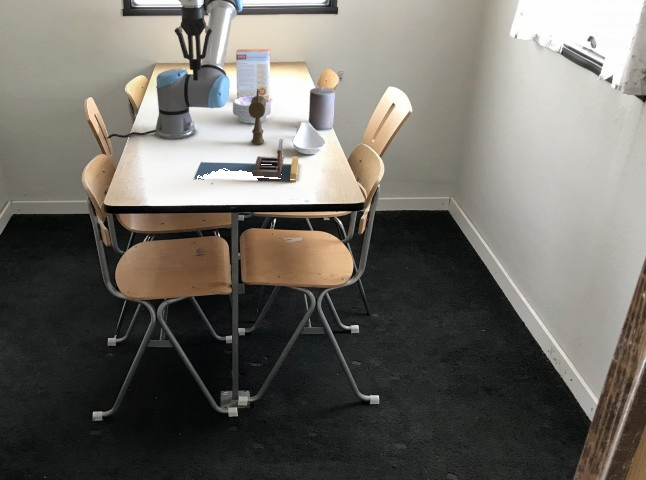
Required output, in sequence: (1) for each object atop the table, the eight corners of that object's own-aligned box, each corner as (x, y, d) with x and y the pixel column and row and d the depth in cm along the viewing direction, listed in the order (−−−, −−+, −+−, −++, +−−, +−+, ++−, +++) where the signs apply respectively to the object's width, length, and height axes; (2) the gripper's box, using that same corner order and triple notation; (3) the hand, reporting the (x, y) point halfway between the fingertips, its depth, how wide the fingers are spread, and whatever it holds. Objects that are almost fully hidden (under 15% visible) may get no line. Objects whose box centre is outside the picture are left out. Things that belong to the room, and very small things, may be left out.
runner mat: (193, 180, 235) (193, 179, 235) (200, 163, 248) (200, 162, 248) (296, 183, 231) (296, 182, 231) (298, 165, 245) (298, 164, 244)
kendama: (248, 147, 260) (248, 92, 249) (250, 139, 268) (250, 84, 257) (265, 148, 260) (265, 92, 248) (266, 139, 268) (266, 85, 256)
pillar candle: (303, 126, 280) (304, 87, 271) (319, 120, 285) (321, 82, 277) (322, 131, 274) (324, 92, 265) (338, 126, 280) (340, 87, 271)
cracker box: (269, 98, 312) (270, 48, 301) (268, 102, 307) (269, 51, 296) (238, 98, 314) (237, 48, 302) (236, 102, 309) (235, 51, 297)
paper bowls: (248, 112, 296) (248, 93, 292) (278, 119, 288) (278, 99, 284) (225, 121, 287) (224, 101, 282) (254, 128, 278) (254, 108, 274)
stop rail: (290, 181, 231) (290, 173, 230) (292, 164, 245) (292, 156, 243) (296, 182, 231) (296, 173, 230) (298, 164, 244) (298, 156, 243)
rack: (253, 180, 233) (253, 151, 228) (257, 164, 245) (257, 137, 239) (280, 180, 232) (281, 152, 227) (283, 165, 244) (284, 137, 238)
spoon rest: (327, 157, 250) (329, 137, 246) (294, 159, 250) (295, 138, 246) (316, 135, 270) (317, 117, 266) (285, 137, 269) (286, 118, 265)
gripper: (170, 7, 232) (175, 82, 245) (210, 7, 230) (213, 82, 244) (175, 3, 238) (179, 76, 251) (213, 3, 236) (216, 76, 250)
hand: (196, 79), depth 247 cm, fingers closed
